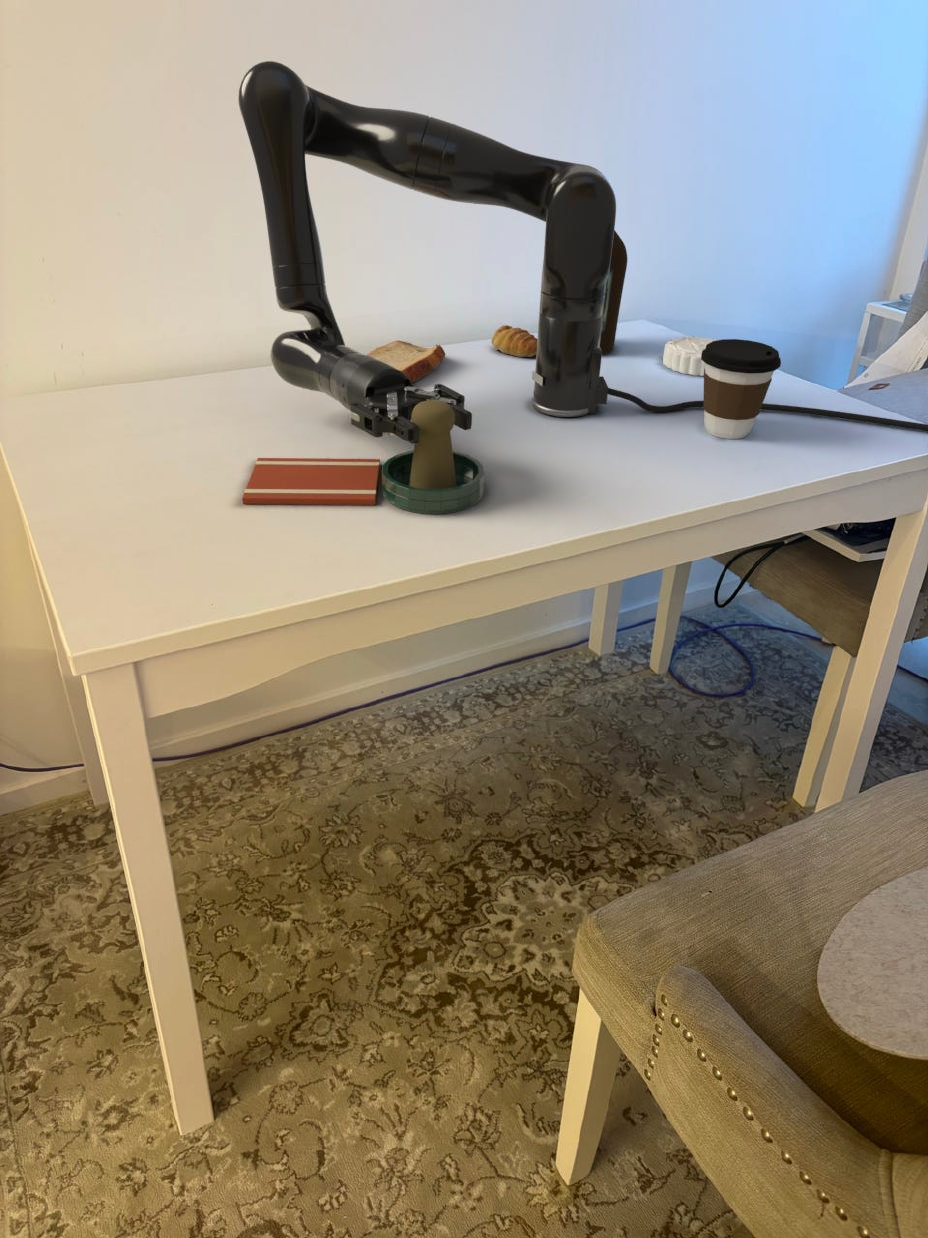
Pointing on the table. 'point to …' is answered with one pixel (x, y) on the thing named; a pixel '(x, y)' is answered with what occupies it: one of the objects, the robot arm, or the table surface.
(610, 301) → the olive oil
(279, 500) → the towel
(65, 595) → the table surface
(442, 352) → the slice of bread
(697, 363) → the mooncake
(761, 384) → the coffee cup
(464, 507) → the dish
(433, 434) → the cork
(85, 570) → the table surface
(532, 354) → the pastry
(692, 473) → the table surface
